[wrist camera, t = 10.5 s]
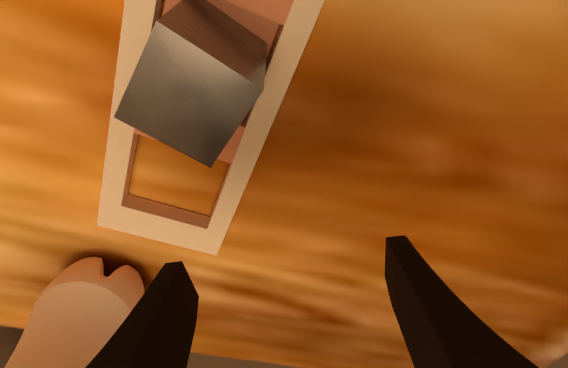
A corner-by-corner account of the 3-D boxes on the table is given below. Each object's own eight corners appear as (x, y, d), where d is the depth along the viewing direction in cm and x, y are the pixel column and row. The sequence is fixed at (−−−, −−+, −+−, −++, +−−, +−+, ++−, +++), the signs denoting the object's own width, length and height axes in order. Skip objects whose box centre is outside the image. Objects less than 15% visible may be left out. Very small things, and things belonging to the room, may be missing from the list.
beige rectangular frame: (436, -279, 12) (450, -297, 11) (218, 243, 26) (216, 255, 25) (195, -454, 10) (186, -496, 9) (104, 213, 24) (96, 225, 23)
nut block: (267, 43, 17) (263, 89, 12) (227, 106, 19) (210, 167, 14) (192, -10, 16) (156, 20, 11) (157, 64, 18) (113, 117, 13)
